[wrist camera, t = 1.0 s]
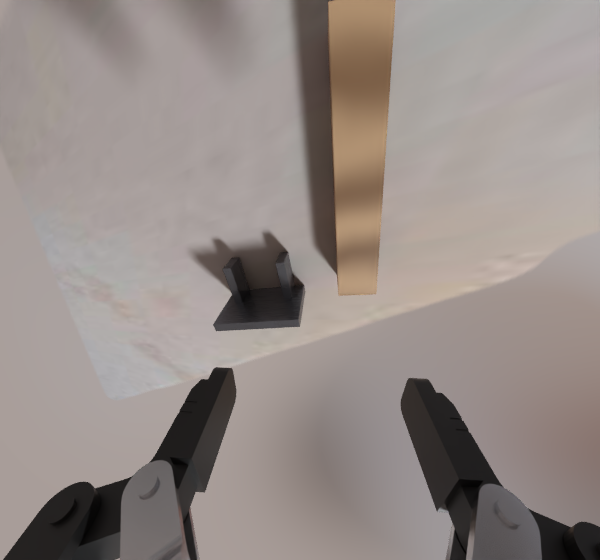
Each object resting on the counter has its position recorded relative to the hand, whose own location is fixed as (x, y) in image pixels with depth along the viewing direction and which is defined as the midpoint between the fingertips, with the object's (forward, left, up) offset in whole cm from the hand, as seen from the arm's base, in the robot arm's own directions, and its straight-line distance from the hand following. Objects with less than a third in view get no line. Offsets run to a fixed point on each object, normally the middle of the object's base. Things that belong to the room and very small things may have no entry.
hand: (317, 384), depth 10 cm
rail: (-6, +4, -19) cm, 20 cm away
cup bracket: (+4, -8, -19) cm, 21 cm away
